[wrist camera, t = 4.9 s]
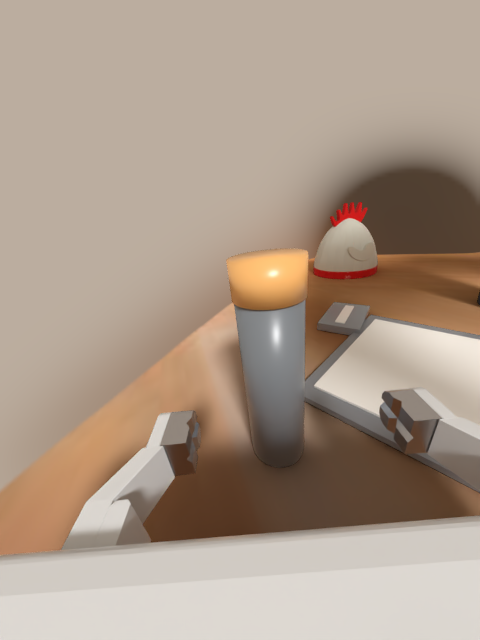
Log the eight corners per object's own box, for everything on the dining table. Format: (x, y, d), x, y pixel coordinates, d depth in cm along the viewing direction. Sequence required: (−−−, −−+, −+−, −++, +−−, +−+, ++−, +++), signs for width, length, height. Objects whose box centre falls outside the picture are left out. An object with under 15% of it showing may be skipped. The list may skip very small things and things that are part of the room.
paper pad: (370, 317, 31) (370, 313, 31) (544, 352, 21) (547, 346, 21) (294, 396, 20) (294, 389, 19) (598, 554, 10) (607, 546, 9)
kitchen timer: (391, 273, 49) (404, 195, 43) (331, 282, 48) (336, 204, 42) (352, 262, 62) (358, 201, 56) (304, 270, 60) (305, 208, 54)
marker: (272, 412, 18) (261, 248, 13) (315, 438, 16) (323, 248, 10) (240, 444, 16) (210, 261, 11) (284, 482, 14) (274, 267, 8)
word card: (333, 308, 36) (334, 301, 35) (369, 312, 33) (370, 305, 32) (317, 329, 30) (317, 322, 30) (358, 337, 27) (359, 329, 27)
